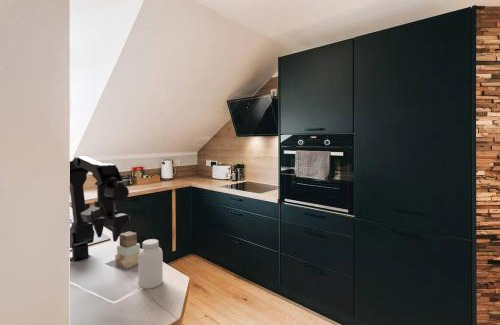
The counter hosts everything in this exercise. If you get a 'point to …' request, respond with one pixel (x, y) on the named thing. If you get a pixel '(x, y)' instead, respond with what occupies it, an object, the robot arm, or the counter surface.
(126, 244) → the walnut block
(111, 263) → the slate board
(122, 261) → the tower base
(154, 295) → the counter surface
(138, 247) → the tower mid
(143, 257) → the pill bottle
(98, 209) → the robot arm
